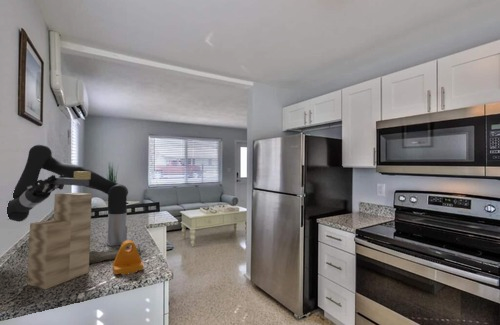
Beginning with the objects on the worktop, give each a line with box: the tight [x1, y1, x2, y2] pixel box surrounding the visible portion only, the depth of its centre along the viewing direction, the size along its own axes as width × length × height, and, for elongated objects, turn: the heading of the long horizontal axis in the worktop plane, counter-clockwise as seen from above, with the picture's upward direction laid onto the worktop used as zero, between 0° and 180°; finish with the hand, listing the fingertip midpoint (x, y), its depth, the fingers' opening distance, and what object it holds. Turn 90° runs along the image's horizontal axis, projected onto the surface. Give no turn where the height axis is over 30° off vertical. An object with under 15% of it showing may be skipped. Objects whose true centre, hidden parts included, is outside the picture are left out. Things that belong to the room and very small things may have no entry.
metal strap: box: [47, 171, 91, 187], centre depth 103 cm, size 20×4×6 cm, turn 70°
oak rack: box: [26, 192, 93, 290], centre depth 98 cm, size 10×16×32 cm, turn 160°
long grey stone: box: [89, 247, 141, 265], centre depth 118 cm, size 35×5×10 cm
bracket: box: [112, 239, 144, 276], centre depth 106 cm, size 11×7×12 cm, turn 123°
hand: (59, 177), depth 105 cm, fingers closed on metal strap, 3 cm apart
